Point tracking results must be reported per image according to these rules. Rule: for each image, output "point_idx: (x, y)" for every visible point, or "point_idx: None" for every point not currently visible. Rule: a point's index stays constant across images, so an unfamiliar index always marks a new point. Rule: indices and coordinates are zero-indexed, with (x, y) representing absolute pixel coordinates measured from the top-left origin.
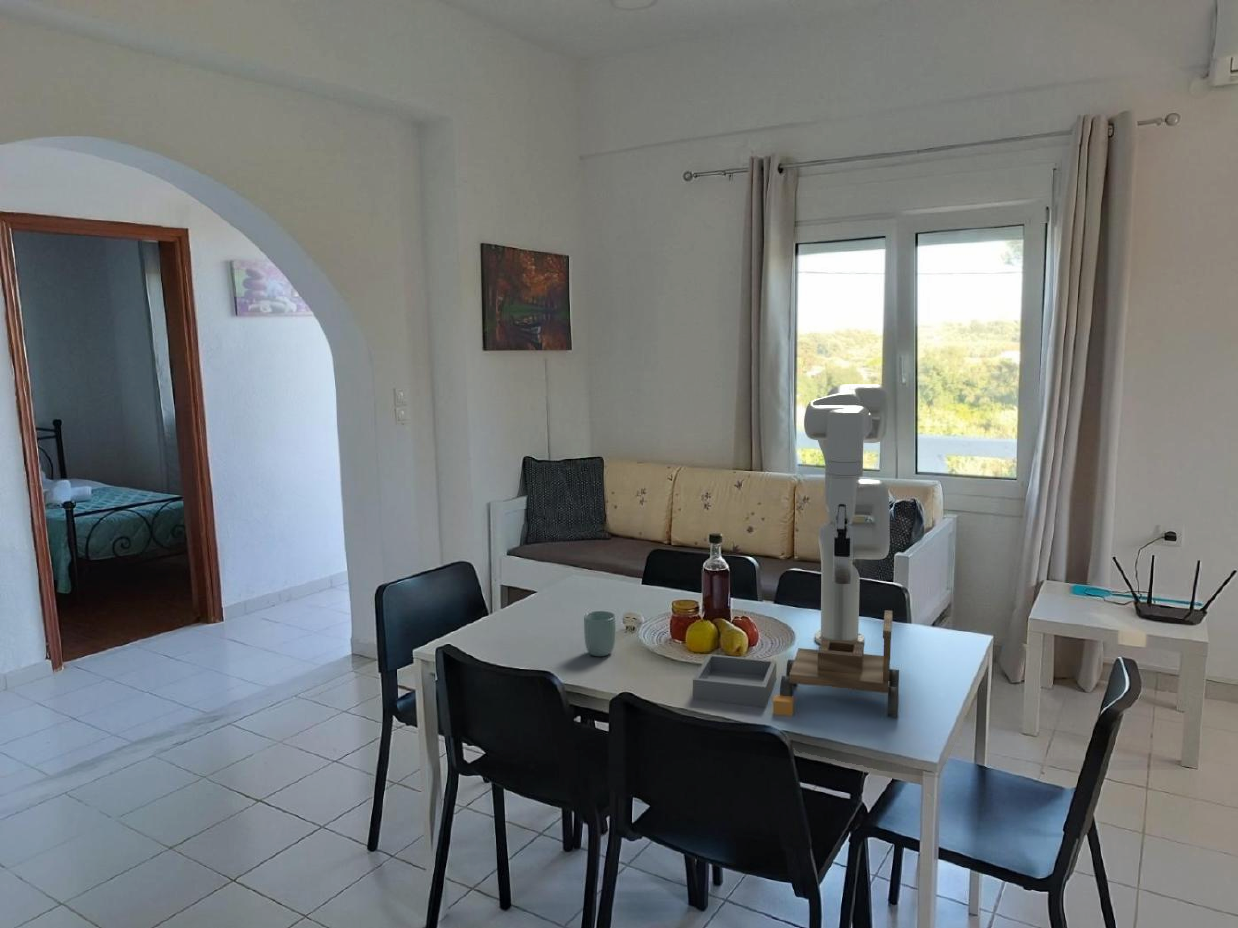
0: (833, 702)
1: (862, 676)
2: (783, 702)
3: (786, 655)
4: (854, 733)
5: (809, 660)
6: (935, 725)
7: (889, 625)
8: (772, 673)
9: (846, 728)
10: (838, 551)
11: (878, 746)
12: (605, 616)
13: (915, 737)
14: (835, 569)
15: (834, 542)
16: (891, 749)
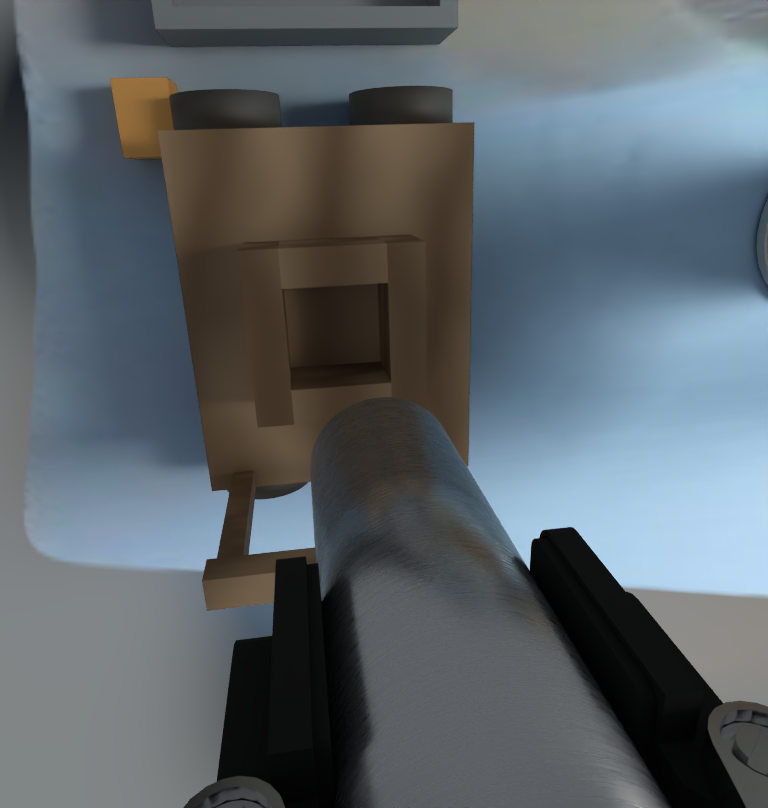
0: None
1: (245, 407)
2: (118, 122)
3: (677, 46)
4: (97, 366)
5: (341, 192)
6: None
7: None
8: (342, 31)
9: (121, 340)
10: (236, 651)
11: (44, 435)
12: None
13: (148, 512)
14: (332, 473)
15: (273, 685)
16: (42, 467)
